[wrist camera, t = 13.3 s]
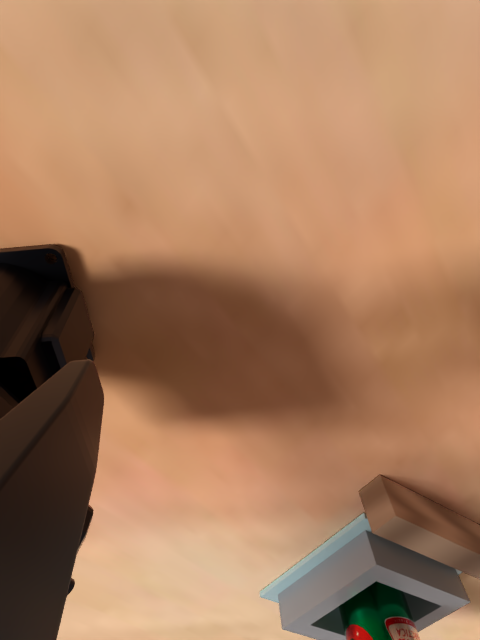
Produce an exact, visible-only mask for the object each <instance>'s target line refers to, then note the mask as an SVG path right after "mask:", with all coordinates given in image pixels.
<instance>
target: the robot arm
mask: <svg viewBox="0 0 480 640" xmlns="http://www.w3.org/2000/svg"><path fill="white" fill-rule="evenodd" d="M49 253H50V254H54V255H55V256H56V258H57V260H51V259H50V258H49V257H48V254H49ZM93 337H94V332H93V328H92V325H91V321H90V318H89V315H88V311H87V308H86V304H85V301H84V297H83V294H82V291H80V290H79V289H78V288H77V287H75V286H74V283H73V279H72V276H71V273H70V269H69V266H68V263H67V259H66V256H65V253H64V251H63V250H62V249H61V248H60V247H59V246H56V245H51V244H49V245H38V246H26V247H15V248H3V249H0V640H56V639H57V635H58V630H59V626H60V622H61V618H62V614H63V609H64V605H65V601H66V597H67V595H68V594H69V593H70V592H71V591H72V589H73V587H74V584H75V581H74V580H73V579H72V578H71V576H72V571H73V567H74V563H75V559H76V555H77V553H78V551H79V549H80V547H81V545H82V543H83V541H84V539H85V537H86V534H87V532H88V529H89V526H90V523H91V520H92V516H93V509H92V507H91V506H90V505H88V504H89V500H90V496H91V491H92V487H93V483H94V478H95V473H96V467H97V460H98V451H99V442H100V433H101V424H102V415H103V406H104V394H103V389H102V386H101V383H100V379H99V376H98V373H97V369H96V366H95V364H94V362H93V361H94V358H95V353H94V350H93V347H92V343H91V342H92V339H93ZM86 357H87V359H86Z"/></svg>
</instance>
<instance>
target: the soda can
mask: <svg viewBox="0 0 480 640" xmlns="http://www.w3.org/2000/svg"><path fill="white" fill-rule="evenodd" d="M339 611H340V615H341V619H342V624H343V628H344V632H345V637H346V640H420V637H419V634H418V632H417V629H416V626H415V623H414V620H413V617H412V615H411V612H410V609H409V606H408V603H407V600H406V597H405V595H404V592H403V591H401V590H398V589H395V588H393V587H390V586H388V585H385V584H382V583H380V582H377V581H376V582H374V583H373V584H371V585H370V586H368V587H367V588H365V589H364V590H362V591H361V592H359V593H358V594H356V595H355V596H353V597H352V598H350V599H349V600H347V601H346V602H344V603H343V604H341V605H340V606H339Z"/></svg>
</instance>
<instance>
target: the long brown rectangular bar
mask: <svg viewBox="0 0 480 640" xmlns="http://www.w3.org/2000/svg"><path fill="white" fill-rule="evenodd" d="M359 494H360V497H361V500H362V503H363V506H364V509H365V512H366V515H367V518H368V522H369V525H370V528H371V531H372V533H373V534H376V535H378V536H380V537H383V538H385V539H387V540H390V541H392V542H394V543H397V544H399V545H401V546H404V547H406V548H408V549H411V550H413V551H415V552H417V553H420V554H422V555H424V556H427V557H429V558H431V559H434V560H436V561H438V562H441V563H443V564H445V565H448V566H450V567H452V568H455V569H457V570H459V571H462V572H464V573H466V574H469V575H471V576H473V577H475V578H478V579H480V525H479V524H477V523H475V522H473V521H471V520H469V519H467V518H465V517H463V516H461V515H459V514H457V513H455V512H453V511H451V510H449V509H447V508H445V507H443V506H441V505H439V504H437V503H435V502H433V501H431V500H429V499H427V498H425V497H423V496H421V495H419V494H417V493H415V492H413V491H411V490H409V489H407V488H405V487H403V486H401V485H399V484H397V483H395V482H393V481H391V480H389V479H387V478H385V477H383V476H381V475H379V476H378V477H376V478H375V479H374V480H373V481H371V482H370V483H369V484H367V485H366V486H365V487H364V488H362V489H361V490H360V491H359Z"/></svg>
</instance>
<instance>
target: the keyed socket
mask: <svg viewBox="0 0 480 640" xmlns="http://www.w3.org/2000/svg"><path fill="white" fill-rule="evenodd" d="M461 573H462V571H459V570H457V569H455V568H452V567H450V566H448V565H445V564H443V563H441V562H438V561H436V560H434V559H431V558H429V557H427V556H424V555H422V554H420V553H417V552H415V551H413V550H411V549H408V548H406V547H404V546H401V545H399V544H397V543H394V542H392V541H390V540H387V539H385V538H383V537H380V536H378V535H376V534H373V533H372V531H371V528H370V525H369V522H368V518H367V515H366V514H365V513H363V514H361V515H360V516H359V517H357V518H356V519H355V520H354V521H352V522H351V523H350V524H348V525H347V526H346V527H344V528H343V529H342V530H340V531H339V532H338V533H336V534H335V535H334V536H333V537H331V538H330V539H329V540H327V541H326V542H325V543H323V544H322V545H321V546H319V547H318V548H317V549H315V550H314V551H313V552H312V553H310V554H309V555H308V556H306V557H305V558H304V559H302V560H301V561H300V562H298V563H297V564H296V565H294V566H293V567H292V568H291V569H289V570H288V571H287V572H285V573H284V574H283V575H281V576H280V577H279V578H277V579H276V580H275V581H273V582H272V583H271V584H270V585H268V586H267V587H266V588H264V589H263V590H262V591H260V597H261V598H265V599H268V600H271V601H274V602H277V603H279V608H280V616H281V624H282V629H283V630H287V631H290V632H293V633H297V634H300V635H304V636H307V637H310V638H314V639H317V640H346V637H345V632H344V628H343V624H342V619H341V615H340V611H339V606H340V605H341V604H343V603H344V602H346V601H347V600H349V599H350V598H352V597H353V596H355V595H356V594H358V593H359V592H361V591H362V590H364V589H365V588H367V587H368V586H370V585H371V584H373V583H374V582H376V581H377V582H380V583H382V584H385V585H388V586H390V587H393V588H395V589H398V590H401V591H403V592H404V595H405V597H406V600H407V603H408V606H409V609H410V612H411V615H412V617H413V620H414V623H415V626H416V629H417V632H419V631H421V630H422V629H424V628H426V627H428V626H429V625H431V624H433V623H435V622H436V621H438V620H440V619H442V618H443V617H445V616H447V615H449V614H450V613H452V612H454V611H456V610H457V609H459V608H461V607H463V606H464V605H466V604H468V603H470V600H469V598H468V595H467V593H466V591H465V589H464V587H463V585H462V582H461V580H460V578H459V576H458V575H459V574H461Z"/></svg>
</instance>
